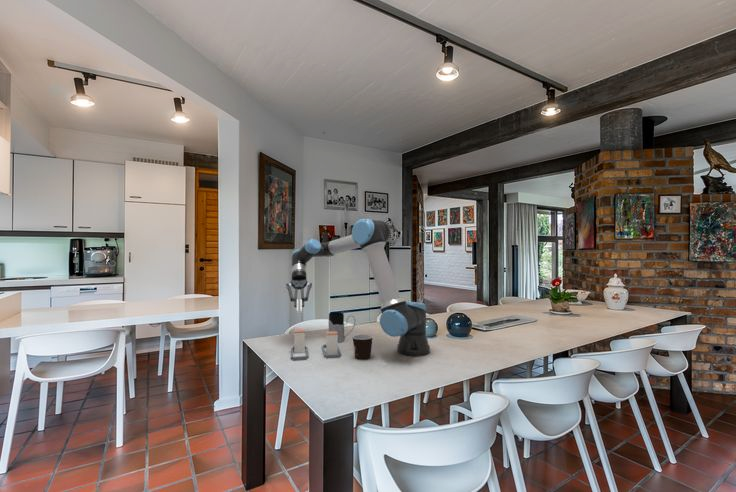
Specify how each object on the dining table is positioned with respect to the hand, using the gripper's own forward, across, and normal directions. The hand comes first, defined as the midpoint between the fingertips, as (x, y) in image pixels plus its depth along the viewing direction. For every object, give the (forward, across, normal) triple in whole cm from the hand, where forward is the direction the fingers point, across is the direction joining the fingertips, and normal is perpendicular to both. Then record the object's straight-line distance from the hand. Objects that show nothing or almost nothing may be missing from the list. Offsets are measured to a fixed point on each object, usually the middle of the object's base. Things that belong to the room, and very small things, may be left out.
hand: (299, 312), depth 164 cm
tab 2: (+21, -14, -3) cm, 26 cm away
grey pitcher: (+7, -21, -19) cm, 29 cm away
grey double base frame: (+20, -7, -6) cm, 22 cm away
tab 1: (+16, 0, -8) cm, 18 cm away
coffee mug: (+26, -27, 0) cm, 38 cm away
